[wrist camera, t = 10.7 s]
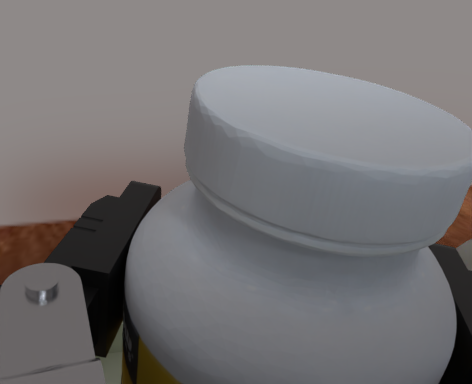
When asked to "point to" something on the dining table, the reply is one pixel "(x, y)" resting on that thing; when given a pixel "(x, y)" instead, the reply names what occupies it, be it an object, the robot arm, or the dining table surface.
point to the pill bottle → (299, 237)
